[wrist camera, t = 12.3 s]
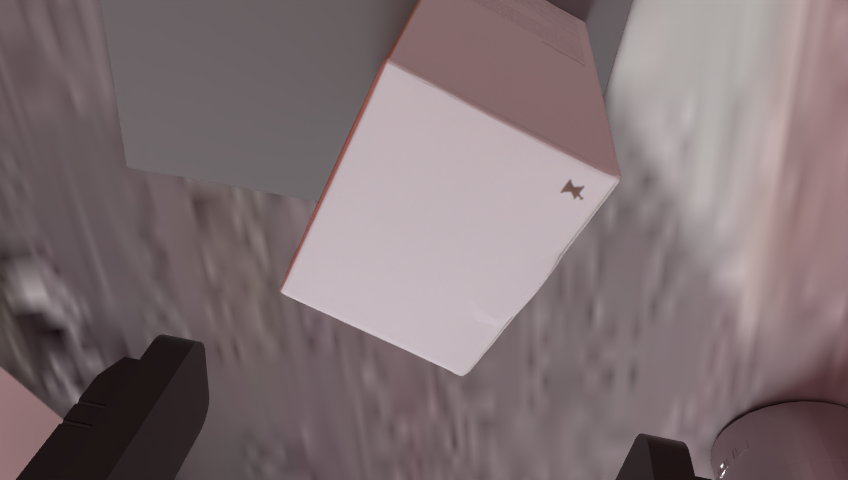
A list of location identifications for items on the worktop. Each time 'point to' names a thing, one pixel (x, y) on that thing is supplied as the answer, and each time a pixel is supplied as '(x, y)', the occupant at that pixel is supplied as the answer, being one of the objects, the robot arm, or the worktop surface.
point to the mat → (267, 81)
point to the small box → (460, 179)
